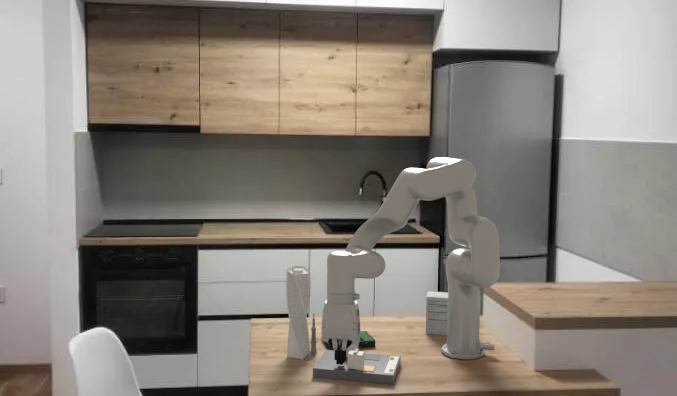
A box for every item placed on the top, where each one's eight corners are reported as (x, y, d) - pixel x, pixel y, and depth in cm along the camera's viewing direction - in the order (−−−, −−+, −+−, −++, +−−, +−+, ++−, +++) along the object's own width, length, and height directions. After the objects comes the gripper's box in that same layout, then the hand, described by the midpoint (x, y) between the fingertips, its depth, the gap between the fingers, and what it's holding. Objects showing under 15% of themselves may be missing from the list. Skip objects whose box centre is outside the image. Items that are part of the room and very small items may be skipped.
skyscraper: (307, 363, 188) (307, 268, 185) (281, 359, 191) (281, 265, 188) (317, 353, 196) (317, 262, 193) (292, 350, 199) (292, 260, 196)
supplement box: (426, 327, 221) (427, 290, 220) (448, 328, 220) (449, 292, 219) (425, 334, 214) (425, 296, 213) (447, 335, 213) (448, 297, 211)
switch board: (400, 364, 187) (400, 355, 187) (393, 384, 172) (393, 374, 172) (325, 357, 192) (325, 349, 191) (312, 377, 177) (312, 367, 177)
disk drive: (329, 353, 198) (375, 348, 201) (329, 344, 198) (375, 339, 201) (321, 341, 208) (366, 337, 211) (321, 333, 207) (366, 329, 211)
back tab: (358, 353, 188) (358, 338, 187) (356, 357, 185) (356, 341, 184) (344, 352, 189) (344, 337, 188) (342, 355, 186) (342, 340, 185)
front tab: (364, 365, 178) (364, 349, 178) (362, 369, 175) (362, 353, 175) (349, 364, 179) (349, 348, 179) (347, 368, 176) (347, 351, 176)
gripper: (370, 295, 178) (369, 360, 180) (317, 292, 181) (317, 355, 183) (365, 302, 171) (364, 370, 173) (310, 299, 174) (310, 365, 176)
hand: (340, 362), depth 178 cm, fingers closed
